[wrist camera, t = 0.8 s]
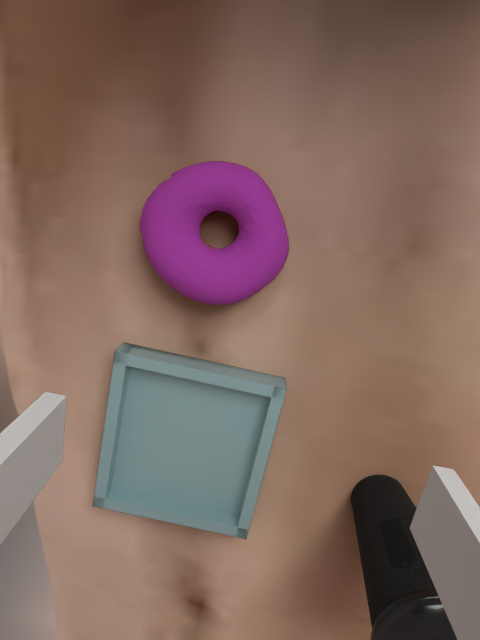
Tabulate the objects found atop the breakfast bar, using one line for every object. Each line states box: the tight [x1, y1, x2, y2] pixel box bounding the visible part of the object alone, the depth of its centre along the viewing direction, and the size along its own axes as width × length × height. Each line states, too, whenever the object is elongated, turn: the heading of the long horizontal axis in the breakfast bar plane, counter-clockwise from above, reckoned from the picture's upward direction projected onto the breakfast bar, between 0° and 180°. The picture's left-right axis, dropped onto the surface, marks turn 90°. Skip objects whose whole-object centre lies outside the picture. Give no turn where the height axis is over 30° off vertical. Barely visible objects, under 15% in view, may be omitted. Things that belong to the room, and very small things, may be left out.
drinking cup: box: [351, 475, 457, 640], centre depth 30 cm, size 8×8×20 cm
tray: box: [93, 343, 287, 539], centre depth 38 cm, size 15×14×2 cm
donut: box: [140, 161, 289, 305], centre depth 32 cm, size 10×10×5 cm
